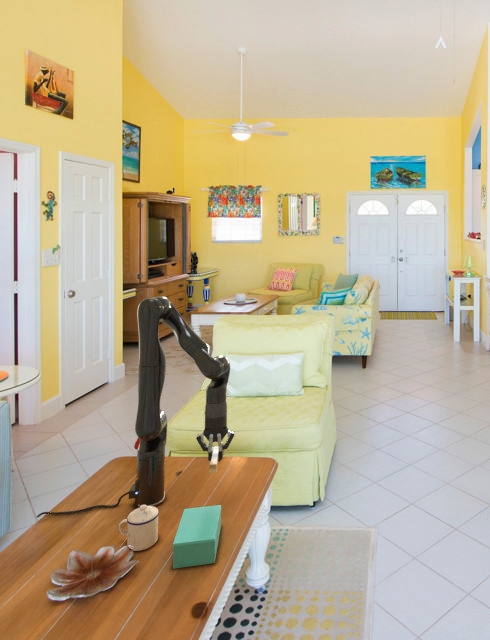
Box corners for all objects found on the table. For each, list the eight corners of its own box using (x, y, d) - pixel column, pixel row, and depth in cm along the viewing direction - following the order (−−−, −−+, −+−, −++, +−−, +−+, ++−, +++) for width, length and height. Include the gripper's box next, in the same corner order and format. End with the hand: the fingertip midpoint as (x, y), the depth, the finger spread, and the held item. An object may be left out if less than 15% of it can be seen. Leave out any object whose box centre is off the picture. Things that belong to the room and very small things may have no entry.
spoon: (221, 472, 159) (221, 463, 159) (204, 474, 158) (204, 465, 158) (225, 450, 176) (225, 442, 176) (210, 451, 174) (210, 443, 174)
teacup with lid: (163, 533, 152) (163, 498, 152) (150, 552, 143) (150, 514, 143) (126, 533, 152) (127, 497, 152) (111, 552, 143) (111, 514, 143)
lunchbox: (214, 563, 138) (214, 540, 138) (172, 568, 136) (173, 545, 136) (220, 527, 156) (221, 507, 156) (184, 531, 153) (184, 511, 153)
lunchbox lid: (214, 541, 138) (214, 538, 138) (172, 546, 135) (172, 544, 135) (221, 507, 156) (221, 504, 156) (184, 511, 153) (184, 508, 153)
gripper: (236, 407, 172) (236, 454, 172) (197, 410, 169) (196, 458, 169) (235, 415, 165) (234, 464, 165) (194, 418, 161) (193, 468, 161)
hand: (215, 460), depth 167 cm, fingers closed on spoon, 2 cm apart
